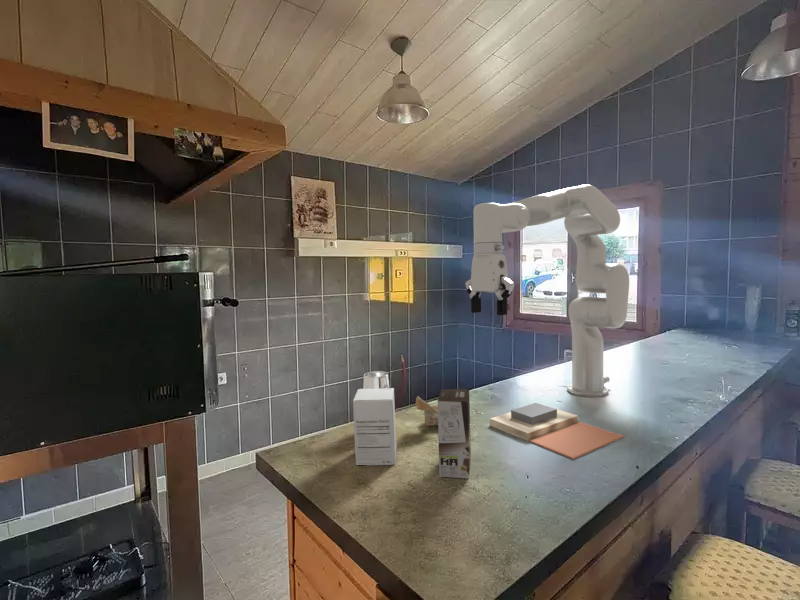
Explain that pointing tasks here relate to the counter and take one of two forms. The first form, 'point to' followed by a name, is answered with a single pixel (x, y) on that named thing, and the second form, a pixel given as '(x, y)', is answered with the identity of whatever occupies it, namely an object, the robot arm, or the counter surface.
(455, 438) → the coffee box
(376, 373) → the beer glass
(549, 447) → the mat
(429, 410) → the oil lamp
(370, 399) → the supplement box
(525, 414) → the tile
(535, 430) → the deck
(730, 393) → the counter surface
